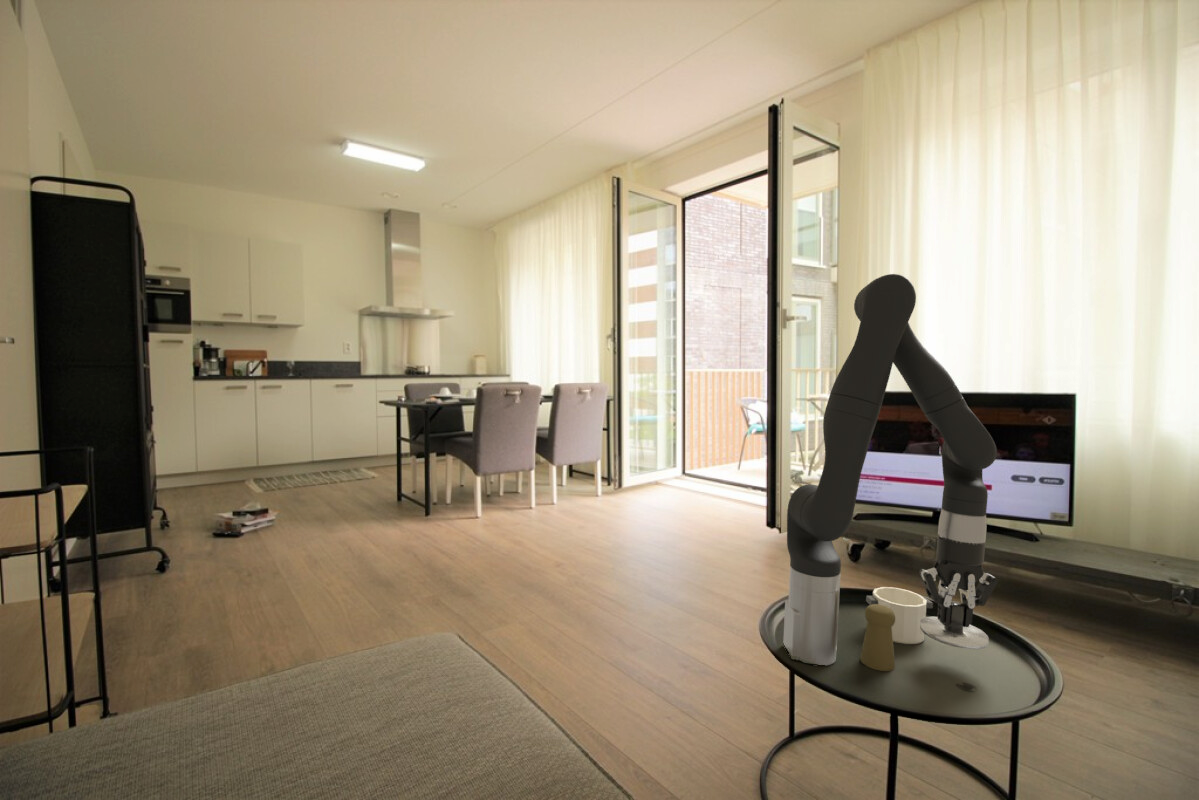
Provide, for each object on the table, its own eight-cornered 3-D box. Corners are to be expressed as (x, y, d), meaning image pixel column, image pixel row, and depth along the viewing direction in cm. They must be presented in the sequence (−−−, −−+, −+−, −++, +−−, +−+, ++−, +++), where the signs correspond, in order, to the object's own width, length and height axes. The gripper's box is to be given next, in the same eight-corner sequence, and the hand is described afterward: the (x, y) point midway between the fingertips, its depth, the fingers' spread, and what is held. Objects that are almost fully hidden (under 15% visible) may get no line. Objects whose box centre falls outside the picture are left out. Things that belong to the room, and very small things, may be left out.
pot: (877, 642, 115) (879, 605, 114) (857, 620, 125) (859, 586, 124) (940, 645, 114) (943, 607, 114) (915, 623, 124) (917, 588, 124)
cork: (853, 658, 108) (856, 603, 108) (874, 652, 111) (877, 598, 110) (880, 673, 103) (883, 616, 102) (902, 667, 105) (905, 610, 105)
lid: (938, 646, 100) (941, 614, 100) (909, 619, 111) (911, 590, 111) (1002, 651, 100) (1005, 619, 99) (966, 623, 111) (968, 594, 110)
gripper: (987, 532, 108) (979, 618, 109) (913, 527, 108) (906, 613, 109) (1013, 544, 100) (1005, 637, 101) (933, 539, 101) (926, 631, 102)
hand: (953, 624), depth 105 cm, fingers closed on lid, 3 cm apart
